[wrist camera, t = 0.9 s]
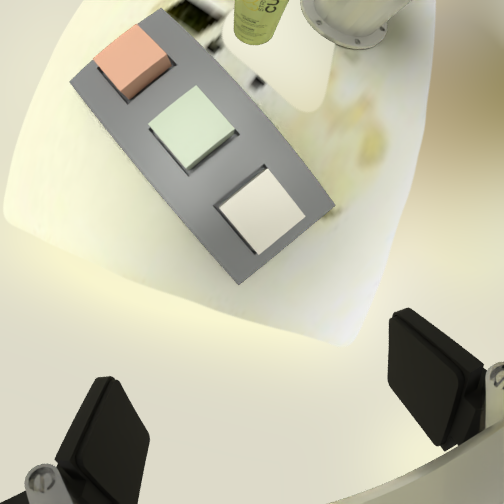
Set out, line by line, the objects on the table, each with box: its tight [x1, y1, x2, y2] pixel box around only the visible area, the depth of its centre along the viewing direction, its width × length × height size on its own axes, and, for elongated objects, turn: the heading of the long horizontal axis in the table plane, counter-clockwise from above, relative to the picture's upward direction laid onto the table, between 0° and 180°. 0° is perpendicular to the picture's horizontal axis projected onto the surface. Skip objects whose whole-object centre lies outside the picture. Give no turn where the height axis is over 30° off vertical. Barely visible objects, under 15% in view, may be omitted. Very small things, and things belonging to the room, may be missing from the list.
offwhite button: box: [219, 169, 306, 255], centre depth 31 cm, size 6×6×4 cm
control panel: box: [70, 8, 335, 285], centre depth 31 cm, size 14×32×2 cm, turn 39°
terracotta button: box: [93, 24, 172, 100], centre depth 26 cm, size 6×6×4 cm
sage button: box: [148, 85, 235, 170], centre depth 28 cm, size 6×6×4 cm
